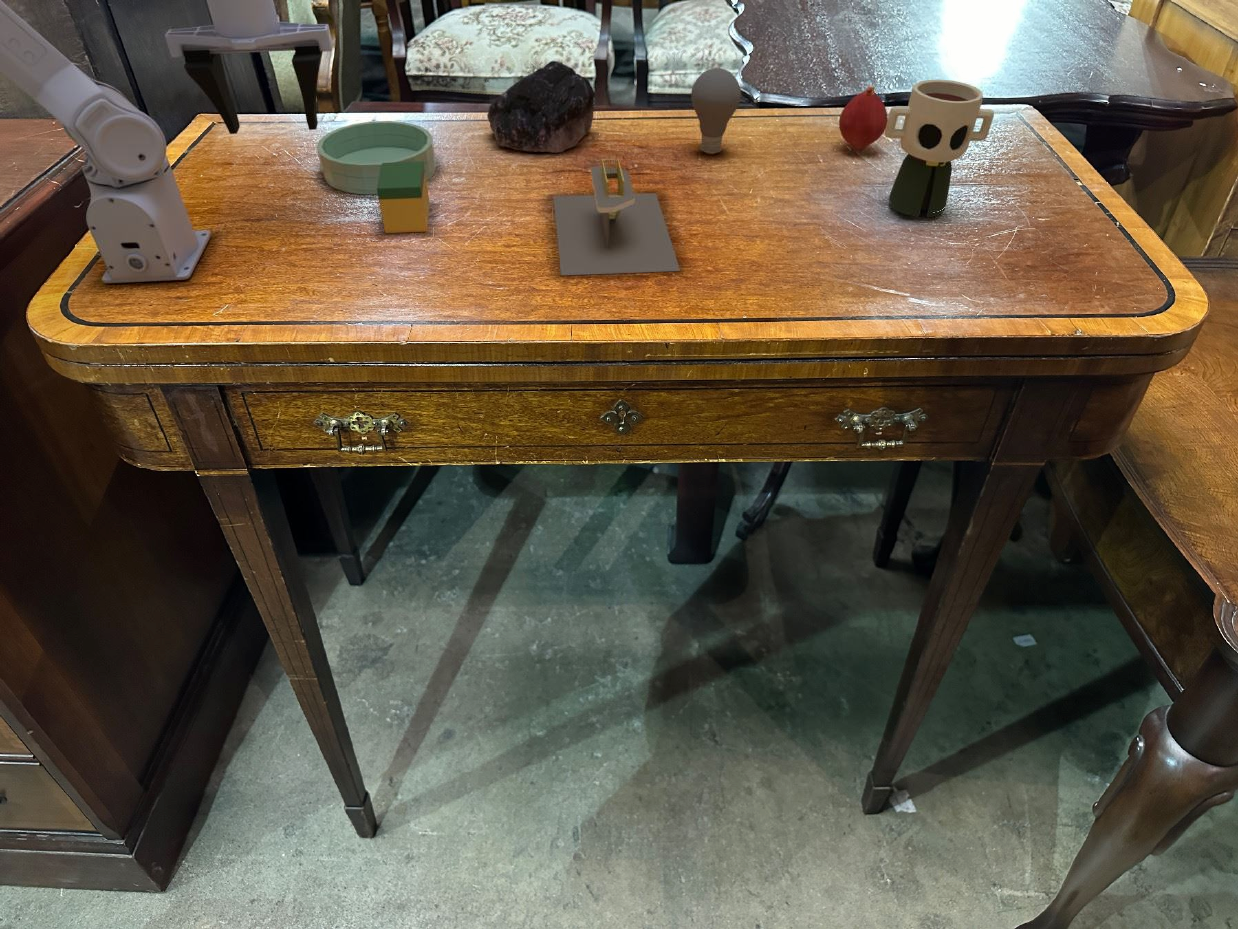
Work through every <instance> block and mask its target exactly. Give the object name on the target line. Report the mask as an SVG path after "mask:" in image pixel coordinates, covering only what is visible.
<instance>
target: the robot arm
mask: <svg viewBox="0 0 1238 929" xmlns="http://www.w3.org/2000/svg"><path fill="white" fill-rule="evenodd" d="M206 2H207V6H208V10H209V13H210V16H211V20H212V23H213V24H212V25H203V26H195V27H188V28H187V27H186V28H173V29H172V28H171V29H168V30H167V31H166V33H165V34H164V39H165V41H166V44H167V47H168V50H169V52H170V56H171V58H183V57H184V62H185V63H184V65H183V68H184V70H185V72H186V73H187V75H188V76H189V77H190V78H191V79H192V80H193V81H194V82H195V83H196V85H197V86H198V87H199V88H200V89H201V91H202V92H203V93H204V94H205V95H206V97H207V99H209V101H210V102H211V103H212V105H213V106H214V108H215V109H216V111H217V113H218V115H219V116H220V117H221V119H222V121H223V123H224V124H225V127H226V129H227V130H228V133H229V135H237V134H238V132H239V130H240V128H241V124H240V120H239V117H238V116H239V115H238V113H237V110H236V107H235V104H234V101H233V98H232V95H231V93H230V90H229V85H228V82H227V77H226V73H225V68H224V64H223V59H222V58H223V57H222V54H238V53H239V54H240V53H265V52H291V51H292V52H293V51H294V54H293V56H292V59H291V64H292V67H293V69H294V74H295V77H296V80H297V83H298V86H299V90H300V93H301V98H302V101H303V109H304V114H305V119H306V120H305V121H306V124H307V128H308V130H309V131H315V130H317V128H318V125H319V122H318V114H317V92H318V90H317V89H318V82H319V81H318V80H319V74H320V67H321V62H322V56H323V52H332V50H333V44H334V43H333V41H332V35H331V31H330V26H329V24H328V23H301V22H288V21H287V22H286V21H279V19H278V18H279V17H278V13H277V10H276V6H275V1H274V0H206ZM0 74H2V75H3V76H4V77H6V78H7V79H8V80H9V81H11V82H12V83H13V84H15V85H16V86H17V87H18V88H19V89H21V90H22V91H23V92H24V93H25V94H27V96H29V97H30V98H32V100H34V101H35V102H36V103H38V104H39V105H40V107H42V108H43V109H44V110H46V111H47V112H48V113H49V114H50V115H51V116H52V117H53V118H54V119H55V120H57V122H59V123H60V124H61V126H62V128H63V130H64V132H65V133H66V134H67V136H68V137H69V138H70V139H71V140H72V141H74V142H75V143H76V144H77V146H80V148H82V150H83V151H84V152H85V153H84V156H83V166H82V167H81V171H82V173H83V175H84V177H85V179H86V182H87V185H88V188H89V191H90V202H89V205H88V207H87V210H86V217H85V219H86V224H87V228H88V230H89V233H90V235H91V237H92V238H93V241H94V243H95V245H96V248H97V250H98V252H99V254H100V256H101V258H102V260H103V263H104V265H105V268H106V269H107V270H106V271H105V272H104V274H103V276H102V277H101V281H102V282H103V283H104V284H123V283H124V284H125V283H145V282H163V281H164V282H165V281H185V280H188V279H190V278H191V276H192V274H193V272H194V270H195V268H196V266H197V265H198V262H199V260H200V258H201V257H202V255H203V252H204V250H205V248H206V246H207V245H208V242H209V240H210V238H211V237H212V233H211V231H210V230H208V229H206V230H204V229H203V230H194V227H193V225H192V221H191V219H190V216H189V213H188V211H187V208H186V205H185V202H184V199H183V196H182V194H181V190H180V188H179V185H178V183H177V179H176V177H175V174H174V172H173V169H172V167H171V164H170V162H169V159H168V156H167V151H168V150H167V149H168V148H167V142H166V137H165V135H164V132H163V130H162V129H161V127H160V125H158V123H157V122H156V121H155V120H154V119H152V117H151V116H149V115H147V114H146V113H145V112H143V111H140V110H139V109H138V108H137V107H136V106H135V105H134V104H132V103H131V102H130V100H129V98H127V96H126V95H124V94H123V93H122V92H121V91H120V90H119V89H117V88H116V87H114V86H112V85H110V84H107V83H104V82H101V81H99V80H96V79H94V78H92V77H90V76H89V75H87V74H86V73H84V72H83V71H82V70H81V69H80V68H78V66H76V65H75V64H74V63H73V62H72V61H70V59H68V58H67V57H66V56H65V55H64V54H62V52H60V51H59V50H58V49H57V48H56V47H55V46H54V45H53V44H52V43H50V42H49V41H48V40H47V39H45V37H43V35H41V34H40V33H39V32H38V31H37V30H35V29H34V28H33V27H32V26H31V25H30V24H29V23H28V22H26V21H25V20H24V19H23V18H22V17H21V16H19V15H18V14H17V13H16V12H15V11H14V9H13V10H12V9H11V7H9V6H8V4H6V3H5V2H4V1H2V0H0Z"/></svg>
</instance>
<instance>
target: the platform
mask: <svg viewBox="0 0 1238 929" xmlns="http://www.w3.org/2000/svg"><path fill="white" fill-rule="evenodd" d="M611 166H612V167H611ZM590 177H591V182H592V183H591V184H592V187H593V193H594V194H585V195H584V194H580V195H554V196H553V197H552V199H553V209H554V219H555V229H556V237H557V238H556V239H557V250H558V258H559V268H560V276H583V275H610V274H634V273H637V274H638V273H661V272H681V268H680V265H679V262H678V260H677V256H676V253H675V252H676V251H675V250H674V246H673V242H672V240H671V237H670V233H669V231H668V227H667V223H666V221H665V217H664V214H663V211H662V208H661V204H660V201H659V198H658V195H657V193H656V192H652V193H651V192H649V193H634V190H633V186H632V182H631V178H630V174H629V172H628V171H627V170H626V169H622V167H621V163H620V159H619V158H603V159H601V166H591V167H590ZM610 179H617V194H613V193H611V194H609V191H610V190H609V187H610V181H608V180H610Z"/></svg>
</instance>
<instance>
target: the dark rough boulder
mask: <svg viewBox="0 0 1238 929" xmlns="http://www.w3.org/2000/svg"><path fill="white" fill-rule="evenodd" d="M594 101H595V90H594V88H593V86H592V85H591V82H590V81H589V79H588V78H587V77H585V76H582V75H581V74H579V73H576V71H575V70H574V68H573V67H570V66H568V65H567V64H564V63H563V62H562V61H561V62H560V61H556V60H551V61H549V62H548V63H547V64H546V65H544V66H543V67H539V68H538V69H536V70H535V71H533V72H532V73H529V74H527V75H525V76H524V77H523V78H521V79H519V80H518V81H517V82H516V83H514V84H513V85H510V86H509V87H508V88H507V89H506V90H505V91H504V92H502V93H501V94H500V95H499V96H498V97H496V99H494V100H493V102H492V103H491V104H490V106H489V107H488V111H487V114H486V116H487V120H488V123H489V127H490V129H491V131H492V133H493V135H494V138H495V140H496V144H497V145H499V146H500V147H503V148H505V147H506V148H510V149H511V150H514V151H524V152H535V153H538V152H541V153H544V152H548V153H563V152H564V151H565V150H568V149H571V148H574V147H575V146H577V145H578V142H579V141H581V140H582V139H583V137H584V136H585V135H587V134H588V133H589V132H590V130H591V127H592V126H593V125H592V124H593V120H594V112H595V110H594V109H595V102H594Z"/></svg>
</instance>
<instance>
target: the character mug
mask: <svg viewBox="0 0 1238 929" xmlns="http://www.w3.org/2000/svg"><path fill="white" fill-rule="evenodd" d="M983 99H984V94H983V91H982V90H980V89H979V87H977V86H973V85H971V84H968V83H966V82H961V81H957V80H950V79H925V80H921V81H918V82H917V83H915V84H914V85H913V86H912V89H911V92H910V96H909V100H908V105H906V106H903V105H896V106H893V107H891V109H890V110H889V112H888V115H887V118H888V120H887V125H886V129H885V131H884V137H885V138H888V139H899V141H900V142H899V143H900V148H901V149H902V151H904V153H906V154H907V155H906V156H905V157H904V158H903V160H902V162H901V165H900V167H899V170H898V172H897V175H896V177H895V179H894V182H893V185H892V188H891V190H890V194H889V197H888V198H889V199H888V202H889V204H890V205H891V206H892V208H893V209H894V210H895V211H897V212H899V213H901V214H904V215H908V216H910V217H911V216H912V217H919V216H920V213H921V210H927V213H926V217H927V218H932V217H936V216H940V215H942V213H944V212H945V211H946V207H945V206H947V202H948V197H949V192H950V185H951V178H952V173H953V172H952V171H953V164H952V161H955V160H958V159H960V158H961V157H962V156H963V155H964V154H965V153H966V152H967V150H968V149H969V146H970V143H971V142H981V141H985V140H986V139H987V137H988V136H989V132H990V129H991V126H992V123H993V120H994V116H995V111H994V110H992V109H990V108H981V107H982V103H983ZM898 117H904V120H903V125H902V128H896V125H897V122H898ZM977 119H981V120H982V123H981V126H980V129H979V131H974V130H975V126H976V122H977ZM944 207H945V208H944ZM943 208H944V209H943ZM942 209H943V210H942ZM940 210H941V211H940ZM937 211H939V212H937ZM933 212H935V213H933Z"/></svg>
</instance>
